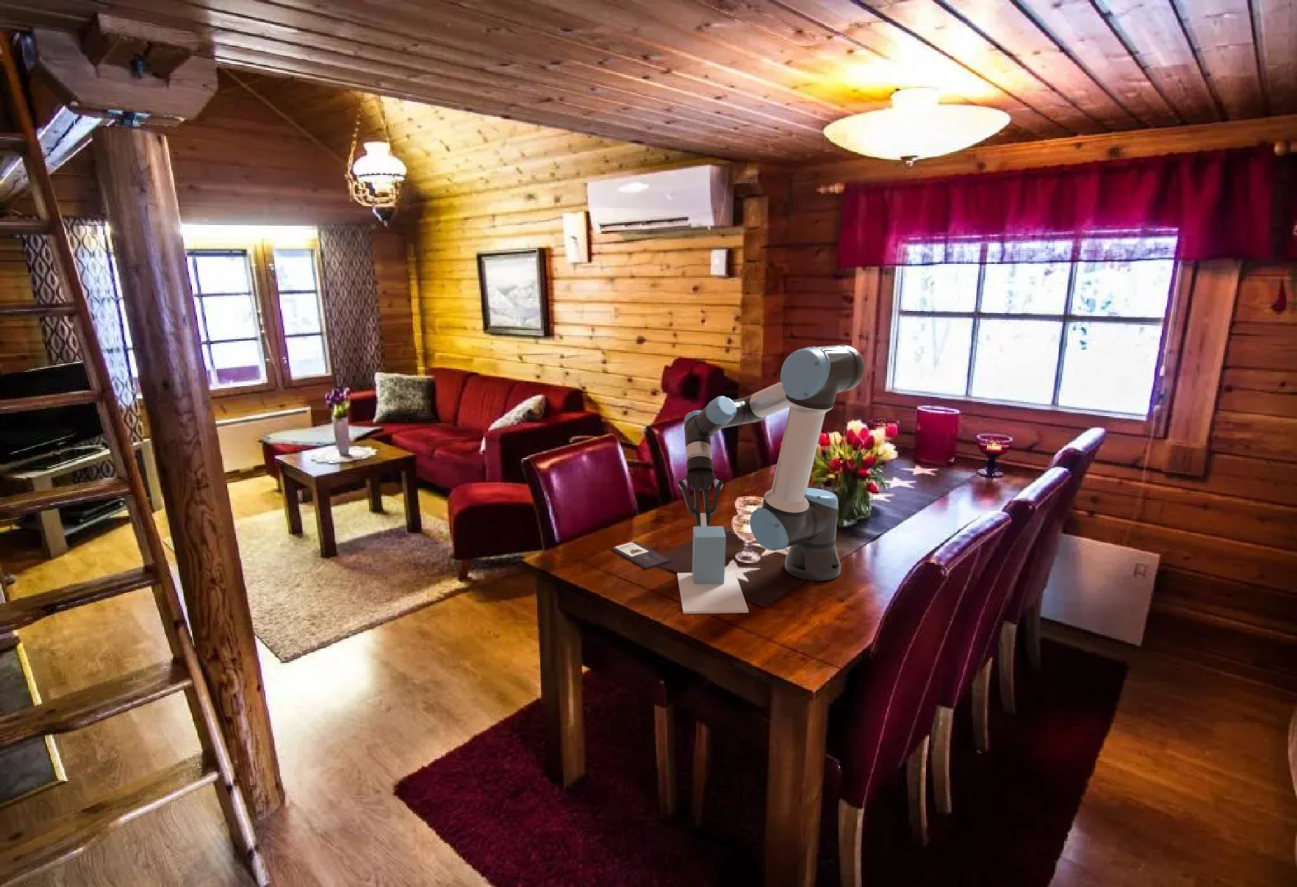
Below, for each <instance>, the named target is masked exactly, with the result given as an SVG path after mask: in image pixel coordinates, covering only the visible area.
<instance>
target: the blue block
mask: <svg viewBox="0 0 1297 887" xmlns="http://www.w3.org/2000/svg"><path fill="white" fill-rule="evenodd" d="M692 528H693V529H692V561H691V562H692V563H691V564H692V565H691V573H692V574H693V580H694V584H724V573H725V572H726V571H725V570H726V569H725V568H726V545H727V542H726V541H727V536H726V532H725V528H724V526H723V525H717V526H715V525H714V526H713V525H710V526H698V527H697V526H692Z"/></svg>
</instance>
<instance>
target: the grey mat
mask: <svg viewBox="0 0 1297 887" xmlns="http://www.w3.org/2000/svg"><path fill="white" fill-rule="evenodd" d="M676 575H677V582H678V589H679V594H680V602H681V608H682V613H683V614H684V615H689V614H690V615H691V614H693V615H694V614H696V615H697V614H698V615H699V614H739V613H740V614H741V613H744V614H745V613H749V608H748V605H747V603H746V600H745V597H744V594H743V590H742V588H741V585H740V582H739V579H738V576H737V574H736V571H731V572H730V571H729V572H728V571H725V573H724V584H694V580H693V574H692V572H677V573H676Z"/></svg>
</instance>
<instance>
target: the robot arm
mask: <svg viewBox="0 0 1297 887" xmlns="http://www.w3.org/2000/svg"><path fill="white" fill-rule="evenodd" d="M780 370H781V371H780V381H779V382H777V383H774V384H773V385H770V386H768V387H765V388H763V389H762V390H761V389H760V390H759V391H757V392H755V393H753V394H750V395H748V396H745V397H741V398H737V399H731V398H730V397H726V396H724V395H721V396H720V395H719V396H717V397H715V398H714V399H712V400H711V401H709V402H708V404H707V405H706V406H705V407H704V408H703V409H702V410H692V412H688V413H687V414H686V415H685V416H684V424H683V425H684V426H683V429H684V430H683V431H684V444H685V461H686V463H685V464H686V475H685V478H684V479H683V480H679V481H678V489H679V490H680V491H681V492H682V496H683V499H684V502H685V505H686V508H687V511H688V514H689V515H693V516H695V525H696V526H695V527H698V526H711V515H716V512H717V511H716V510H717V507H718V502H719V501H718V500H719V496H720V491H721V490H722V488H723V486H724V480H723V479H721V480H719V479H717V478H716V475H715V473H714V466H713V453H712V437H713V436H714V435H715V434H717V433H718V432H719V431H720V430H721V429H724V428H730V427H735V426H741V425H744V424H745V425H746V424H752V423H754V424H755V423H758V422H760V421H764V420H765V419H766V418H767V417H769V416H770V415H773V414H776V413H778V412H781V411H784V410H786V409H788V415H787V417H786V418H787V419H786V424H785V427H784V432H783V437H782V441H781V446H780V449H779V455H778V458H777V463H776V468H775V473H774V478H773V481H772V482H773V483H772V487H771V489H769V490H768V491H766V492H765V493H764V496H763V499H762V500H763V501H762V505H761V507H757V508H756V509H755V510H753V512H751V515H750V518H749V525H750V531H751V533H752V536H753V537H754V539H755V541H756V542H757V543H758V544H759V546H761V547H762V548H764V549H765V550H767V551H770V552H773V551H775V552H776V551H780V550H784V549H787V548H788V547H789V550H788V551H787V554H786V557H785V560H784V569H785V571H786V572H787V574H789V575H791V576H792V577H795V578H798V579H801V580H805V581H811V582H812V581H813V582H822V581H823V582H824V581H825V582H826V581H830V580H833V579H836V578H837V577H839V575H840V574H841V561H840V557H839V553H838V550H837V546H836V540H837V526H838V511H839V500H838V496H837V495H836V494H835V493H833V492H831V491H828V490H825V489H819V488H816V487H815V488H814V487H808V486H809V481H810V477H811V473H812V470H813V465H814V461H815V456H816V453H817V449H818V444H819V440H820V436H821V432H822V428H823V425H824V421H825V416H826V413H828V412H829V411H831V410H832V409H833V408H834V406H835V402H836V398H837V394H840V393H845V392H847V391H850V390H853V389H854V388H856V387H857V386H858V385H859V384H860V383H861V381H862V380H863V378H864V375H865V372H866V365H865V360H864V358H863V356H862V354H861V353H860V352H859V351H858V350H857V349H856V348H854V347H853V346H850V345H846V344H833V345H825V346H823V345H822V346H807V347H804V348H800V349H797V350H795V351H793V352H792V353H790V354H789V355H788V356H787V357H786V359H785V360H784V362H783V364H782V366H781V369H780ZM713 485H714V488H715V491H714V495H713V502H712V506H711V508H710V496H709V490H710V489H711V487H712V486H713ZM688 486H689V487H690V489H691V490H693V496H694V506H693V502H692V500H691V496H690V492H689V490H688ZM700 492H702V495H703V508H704V512H701V500H700V498H701V497H700Z"/></svg>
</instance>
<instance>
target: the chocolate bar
mask: <svg viewBox="0 0 1297 887" xmlns="http://www.w3.org/2000/svg"><path fill="white" fill-rule="evenodd" d="M610 550H611V551H612V552H614V553H616V554H617V555H619V556H621V557H623V558H625V559H627V560H628V561H630V562H632V563H633V564H635V565H637V566H639V567H641V568H642V569H643V570H650V569H652V568H655V567H659V566H662V565H666V564H668V563H671V562H672V560H671V559H670V558H668V557H666V556H664V555H662V554H660V553H658V552H657V551H655V550H653V549H650V548H649V547H648V546H645V545H644V544H641V543H639V542H637V541H635V540H634V541H631V542H628V543H625V544H624V543H623V544H620V545H616V546H614V547H610Z"/></svg>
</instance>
